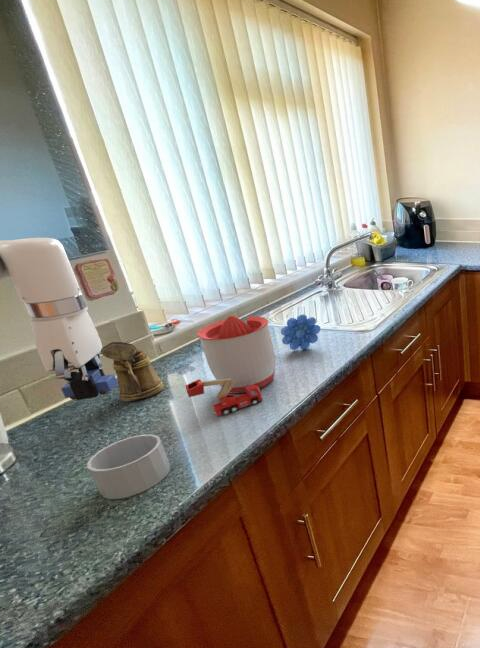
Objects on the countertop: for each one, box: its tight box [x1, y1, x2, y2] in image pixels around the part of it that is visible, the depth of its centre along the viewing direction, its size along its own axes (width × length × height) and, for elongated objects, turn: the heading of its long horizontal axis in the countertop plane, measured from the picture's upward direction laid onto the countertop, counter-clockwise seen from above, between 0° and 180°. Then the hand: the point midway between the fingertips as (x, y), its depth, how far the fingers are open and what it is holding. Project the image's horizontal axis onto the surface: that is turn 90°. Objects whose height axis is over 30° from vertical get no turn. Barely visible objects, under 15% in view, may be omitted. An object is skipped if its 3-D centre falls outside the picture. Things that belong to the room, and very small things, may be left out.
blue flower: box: [280, 313, 321, 351], centre depth 130 cm, size 12×7×12 cm, turn 109°
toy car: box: [60, 368, 118, 400], centre depth 80 cm, size 7×3×4 cm, turn 113°
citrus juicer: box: [196, 315, 276, 394], centre depth 108 cm, size 16×17×20 cm
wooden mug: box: [100, 341, 165, 402], centre depth 102 cm, size 9×14×18 cm, turn 35°
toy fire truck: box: [185, 378, 263, 417], centre depth 97 cm, size 3×14×10 cm, turn 134°
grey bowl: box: [86, 434, 172, 500], centre depth 76 cm, size 10×10×6 cm
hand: (93, 391), depth 81 cm, fingers closed on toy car, 3 cm apart
